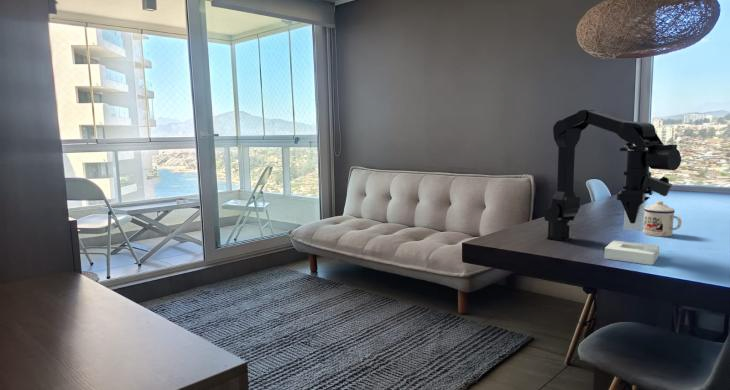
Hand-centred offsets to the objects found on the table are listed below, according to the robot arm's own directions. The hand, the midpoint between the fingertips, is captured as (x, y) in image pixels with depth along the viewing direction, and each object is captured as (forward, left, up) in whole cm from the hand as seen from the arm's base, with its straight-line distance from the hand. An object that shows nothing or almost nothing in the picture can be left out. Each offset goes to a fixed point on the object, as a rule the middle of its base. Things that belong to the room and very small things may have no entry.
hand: (633, 222), depth 135 cm
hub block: (0, 0, -10) cm, 10 cm away
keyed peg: (0, 0, -2) cm, 2 cm away
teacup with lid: (+3, +38, -10) cm, 39 cm away
